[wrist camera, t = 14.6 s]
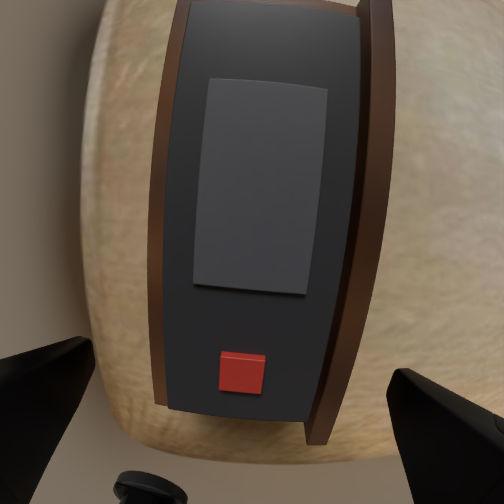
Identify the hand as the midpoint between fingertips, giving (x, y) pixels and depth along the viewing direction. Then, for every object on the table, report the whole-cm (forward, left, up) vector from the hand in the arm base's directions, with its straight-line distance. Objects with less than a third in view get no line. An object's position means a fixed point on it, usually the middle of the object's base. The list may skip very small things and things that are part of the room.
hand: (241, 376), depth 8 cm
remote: (+4, 0, -2) cm, 5 cm away
